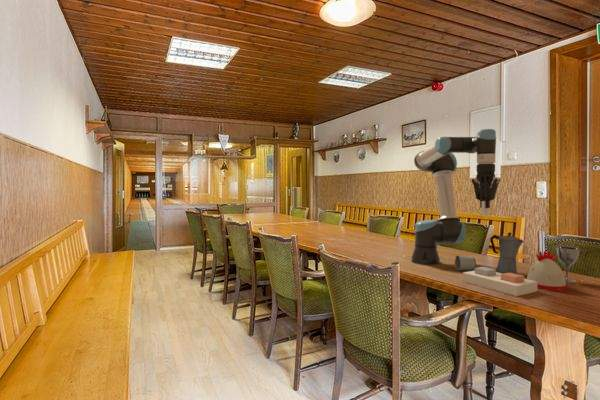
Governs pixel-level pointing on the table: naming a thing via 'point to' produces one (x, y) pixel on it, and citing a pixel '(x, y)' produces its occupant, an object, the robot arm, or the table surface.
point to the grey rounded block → (485, 271)
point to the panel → (500, 283)
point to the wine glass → (567, 258)
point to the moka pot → (507, 252)
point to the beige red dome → (547, 273)
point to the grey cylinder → (465, 263)
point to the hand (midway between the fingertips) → (484, 215)
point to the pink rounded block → (512, 277)
